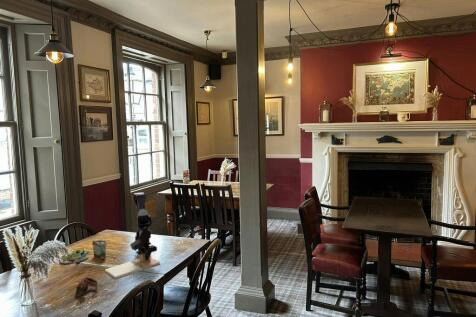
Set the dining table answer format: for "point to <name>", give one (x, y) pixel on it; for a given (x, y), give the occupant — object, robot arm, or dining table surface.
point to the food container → (99, 249)
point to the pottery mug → (85, 286)
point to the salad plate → (75, 256)
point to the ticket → (123, 269)
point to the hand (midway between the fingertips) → (145, 260)
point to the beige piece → (145, 262)
